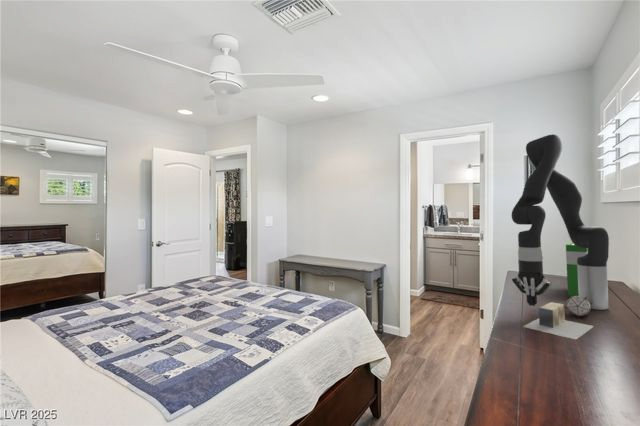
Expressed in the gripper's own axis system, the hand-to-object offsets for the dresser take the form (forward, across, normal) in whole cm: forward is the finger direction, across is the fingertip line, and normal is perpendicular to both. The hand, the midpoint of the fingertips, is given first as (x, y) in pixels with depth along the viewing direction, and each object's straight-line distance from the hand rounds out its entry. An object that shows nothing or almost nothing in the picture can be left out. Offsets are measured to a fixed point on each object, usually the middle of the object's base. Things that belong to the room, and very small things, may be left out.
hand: (532, 305), depth 117 cm
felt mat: (+5, +9, -2) cm, 10 cm away
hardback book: (+6, -1, +56) cm, 57 cm away
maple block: (+2, +6, -6) cm, 9 cm away
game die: (+6, +9, +16) cm, 20 cm away
